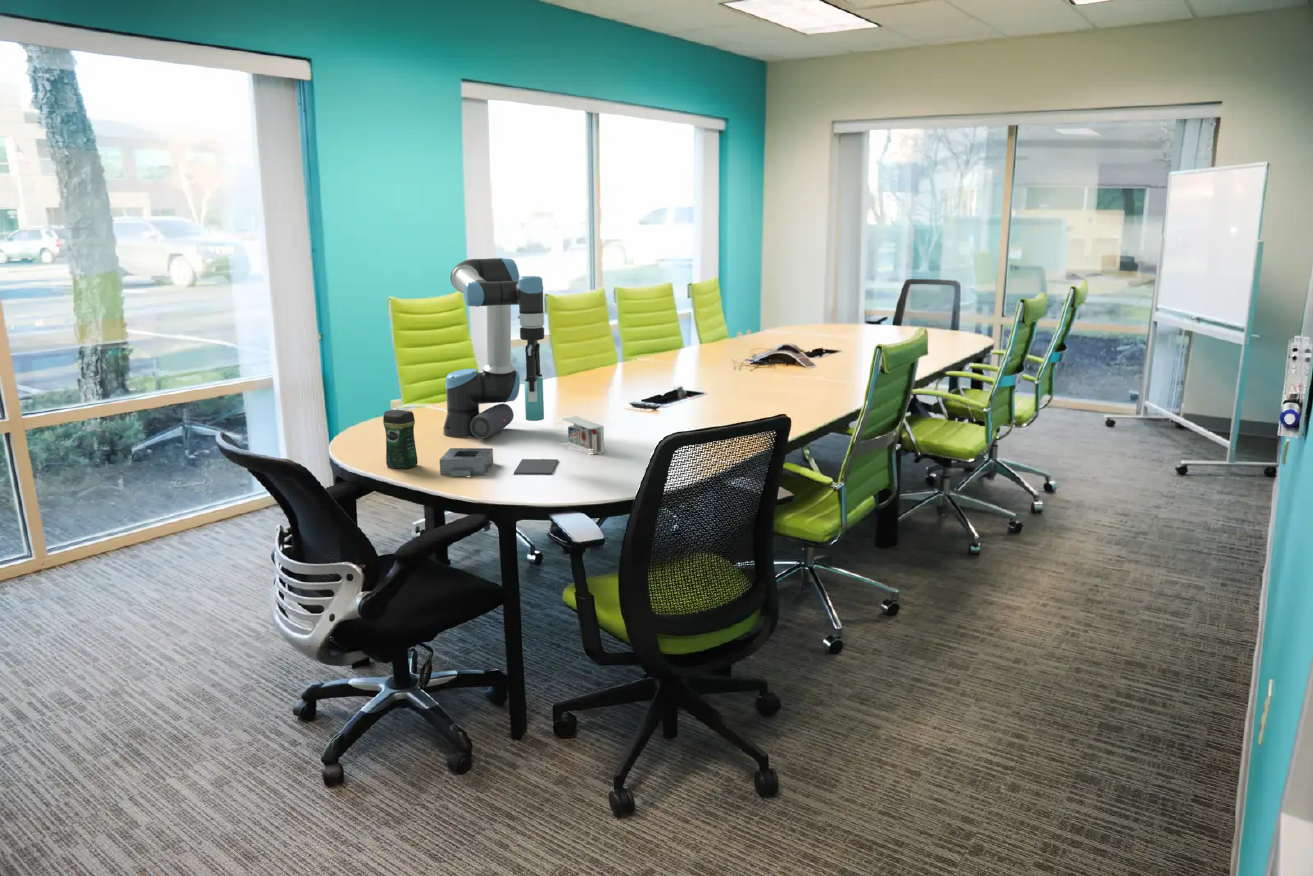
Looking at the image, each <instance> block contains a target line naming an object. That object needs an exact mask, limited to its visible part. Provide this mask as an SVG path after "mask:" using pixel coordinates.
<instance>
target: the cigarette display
mask: <svg viewBox="0 0 1313 876" xmlns="http://www.w3.org/2000/svg"><path fill="white" fill-rule="evenodd" d="M562 420H563V421H566V422H568V423H571V424H573V425H570V426H567V427H568V428H567V429H568V430H567V436H568V441H567V442H563V445H565V444H566V446H567V447H571V448H573V449H575V450H577V449H579V450H578V451H580V450H581V451H580V452H582V451H583V452H582V453H585V452H586V453H585V454H587V453H593V454H592V455H597V453H598V454H601V453H600V452H603V453H605V437H604V436H605V433H604V431H605V430H604V428H605V426H604V425H601V424H598V423H596V422H593V421H590V420H588V419H585V418H581V417H578V416H576V415H575V416H569V417H563V418H562ZM589 449H591V450H589ZM592 449H593V450H592Z"/></svg>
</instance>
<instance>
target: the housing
mask: <svg viewBox="0 0 1313 876" xmlns="http://www.w3.org/2000/svg"><path fill="white" fill-rule="evenodd" d="M493 464H494V449H493V448H491V447H490V448H489V447H488V448H484V447H483V448H481V447H480V448H479V447H478V448H477V447H476V448H475V447H474V448H472V447H471V448H470V447H469V448H468V447H465V448H463V447H459V448H456V447H454V448H453V447H452V448H449V449H448V450H447V451H446V452H445V453H444V454H443V455H442V456H441V457H440V458H439V472H440V476H450V477H451V476H471V477H472V476H485V475H486V474H487V473H488V471H489V470H490V469H491V467H492V465H493ZM488 469H489V470H488ZM486 472H487V473H486ZM485 473H486V474H485Z"/></svg>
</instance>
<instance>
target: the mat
mask: <svg viewBox="0 0 1313 876" xmlns="http://www.w3.org/2000/svg"><path fill="white" fill-rule="evenodd" d="M558 462H559V458H558V459H557V458H555V459H554V458H539V459H538V458H537V459H536V458H522V459H521V460H520V461H519V463H518V465H517V467H516V468H515V470H514V471H513V475H542V476H543V475H546V476H547V475H549V476H550V475H553V473H554V471H555V469H556V467H557V464H558Z"/></svg>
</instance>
